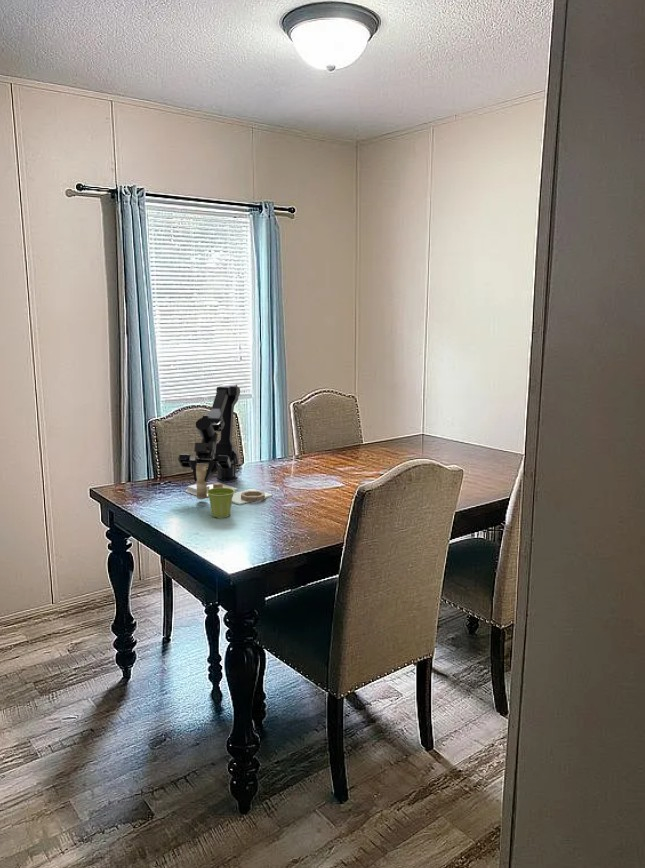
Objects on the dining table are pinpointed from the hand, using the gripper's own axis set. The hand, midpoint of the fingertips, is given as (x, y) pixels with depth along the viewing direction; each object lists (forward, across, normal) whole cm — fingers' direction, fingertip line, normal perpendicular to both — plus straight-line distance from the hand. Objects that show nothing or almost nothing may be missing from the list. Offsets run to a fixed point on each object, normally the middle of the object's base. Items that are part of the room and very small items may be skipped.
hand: (200, 481), depth 244 cm
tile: (-5, -1, +17) cm, 18 cm away
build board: (0, +16, +12) cm, 19 cm away
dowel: (+4, 0, +6) cm, 7 cm away
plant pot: (+15, +11, -4) cm, 20 cm away
